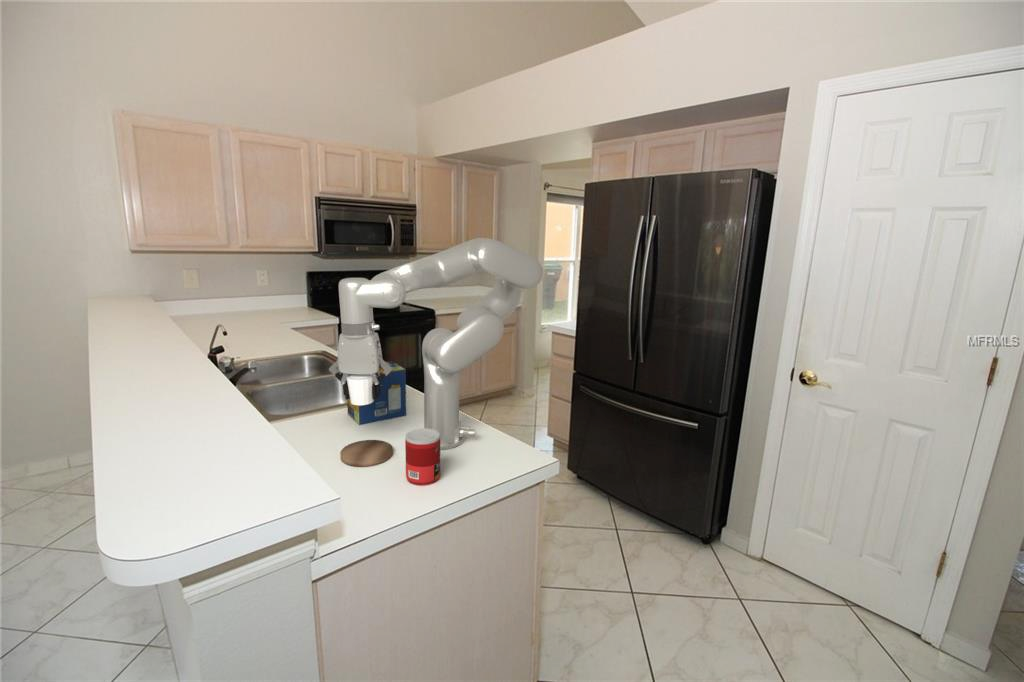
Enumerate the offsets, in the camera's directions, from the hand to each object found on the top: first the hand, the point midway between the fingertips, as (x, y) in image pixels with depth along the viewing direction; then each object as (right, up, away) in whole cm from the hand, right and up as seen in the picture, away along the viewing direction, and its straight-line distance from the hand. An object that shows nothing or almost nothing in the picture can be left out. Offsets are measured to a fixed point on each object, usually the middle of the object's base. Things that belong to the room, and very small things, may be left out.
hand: (362, 397), depth 121 cm
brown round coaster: (+1, -15, +2) cm, 15 cm away
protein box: (-4, -9, +28) cm, 30 cm away
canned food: (+17, -18, -8) cm, 26 cm away
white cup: (0, -1, 0) cm, 1 cm away
